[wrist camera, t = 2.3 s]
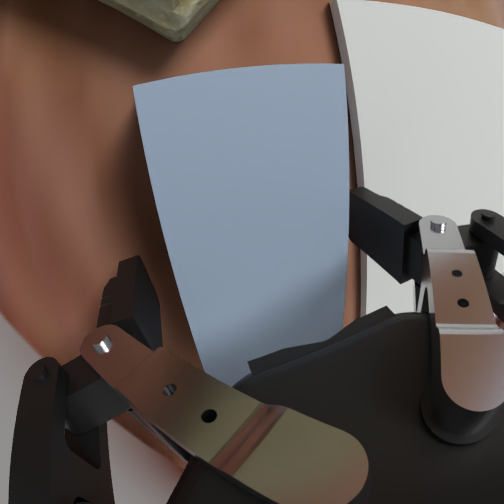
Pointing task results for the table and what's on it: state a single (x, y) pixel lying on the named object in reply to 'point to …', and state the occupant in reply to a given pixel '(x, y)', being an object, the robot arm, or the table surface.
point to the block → (252, 204)
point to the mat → (422, 118)
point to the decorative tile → (166, 14)
